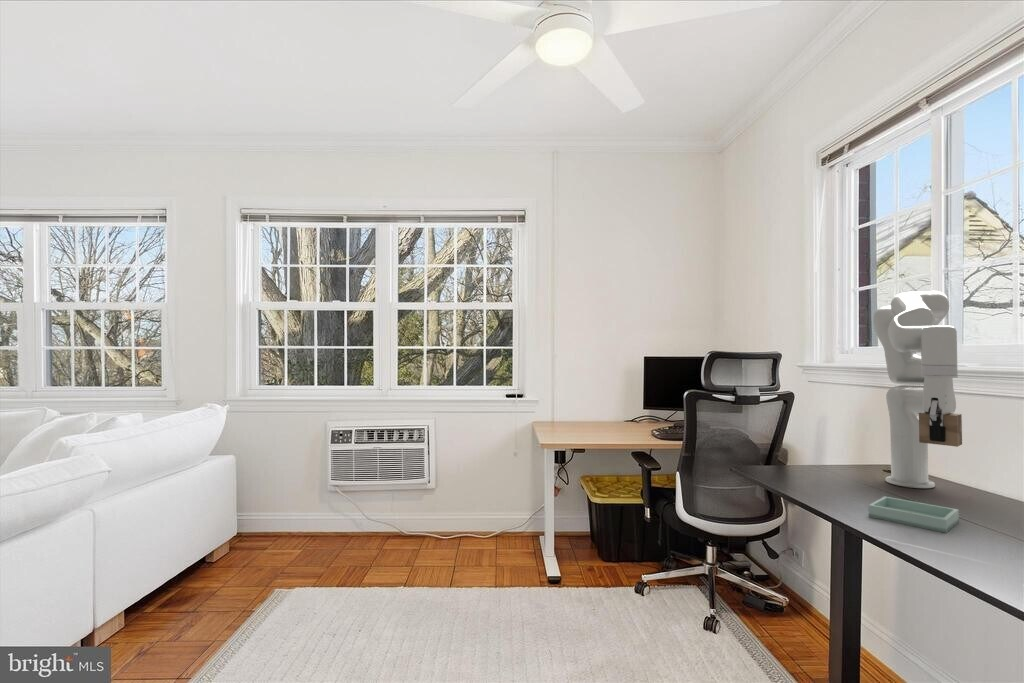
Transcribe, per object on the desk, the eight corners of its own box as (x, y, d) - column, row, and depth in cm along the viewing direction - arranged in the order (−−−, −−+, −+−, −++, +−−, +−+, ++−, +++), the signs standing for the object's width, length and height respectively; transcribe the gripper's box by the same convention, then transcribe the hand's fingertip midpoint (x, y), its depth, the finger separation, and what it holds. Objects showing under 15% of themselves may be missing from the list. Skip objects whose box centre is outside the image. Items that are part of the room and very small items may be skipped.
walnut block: (924, 440, 143) (923, 411, 143) (962, 444, 137) (961, 413, 137) (919, 442, 140) (918, 412, 140) (957, 446, 134) (957, 415, 134)
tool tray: (884, 507, 142) (884, 496, 142) (958, 521, 130) (958, 509, 130) (868, 516, 134) (868, 505, 134) (946, 532, 122) (946, 520, 122)
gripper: (930, 370, 147) (931, 434, 147) (912, 372, 136) (913, 441, 136) (964, 371, 141) (965, 438, 141) (949, 373, 131) (950, 445, 130)
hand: (940, 439), depth 139 cm, fingers closed on walnut block, 5 cm apart
